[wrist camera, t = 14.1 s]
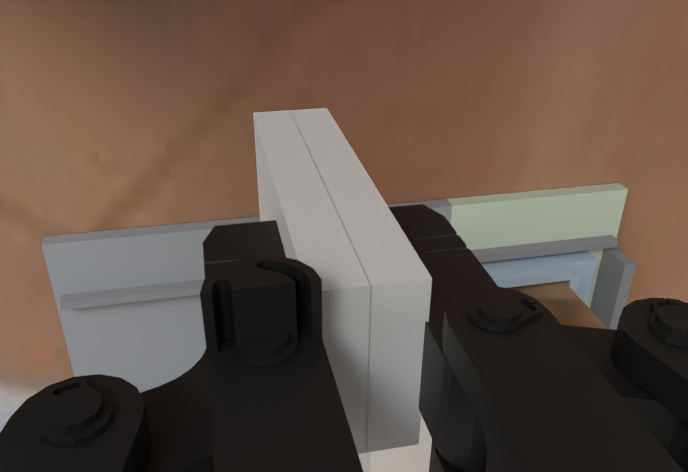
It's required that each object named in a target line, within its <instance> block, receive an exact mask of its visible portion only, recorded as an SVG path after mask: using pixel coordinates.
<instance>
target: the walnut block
mask: <svg viewBox="0 0 688 472" xmlns="http://www.w3.org/2000/svg"><path fill="white" fill-rule="evenodd" d="M507 289H512V290H517V291H520V292H522V293H524V294H526V295H529V296H531V297H533V298H535V299H536V300H538V301H539V302H540V303H541V304H543V305H544V306H545V307H546V308H547V309H548V310H549V311H550V312H551V313H552V314H553V316H554V317H555V318H556V319H557V320H558V322H559V323H560V324H562V325H569V326H577V327H589V328H602V329H608V328H607V327H606V325H605V324H604V323H603V322H602V321H601V320H600V319H599V318H598V317H597V316H596V315H595V314H594V313H593V312H592V311H591V309H590V308H589V307H588V306H587V305H586V304H585V303H584V302H583V301H582V300H581V299H580V298H579V297H578V296H577V294H576V293H575V292H574V291H573V290H572V289H571V288H570V287H569V286H568V285H567V284H566V283H565V282H564V281H559V282H551V283H543V284H534V285H526V286H518V287H510V288H507Z"/></svg>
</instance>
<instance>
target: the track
mask: <svg viewBox="0 0 688 472" xmlns="http://www.w3.org/2000/svg"><path fill="white" fill-rule="evenodd" d="M627 192H628V189H627V188H626V187H625V186H623V185H622V184H620V183H613V184H602V185H591V186H580V187H570V188H559V189H548V190H537V191H527V192H516V193H505V194H494V195H484V196H473V197H462V198H451V199H441V200H430V201H419V202H408V203H398V204H387V206H388V207H396V206H407V205H418V204H424V205H425V206H427V207H429V208H431V209H432V210H434V211H436V212H438V213H439V214H441V215H443V216H445V218H446V219H447V220H448V222H449V223H450V224H451V225H452V227H453V228H454V229H455V231H456V232H457V235H459V236H460V237H461V239H462V240H463V241H464V242H465V244H466V247H467V249H468V248H469V249H470V250H471V252H472V253H473V254H474V255H475V257H476V258H477V259H478V261H479V262H480V263H482V262H491V261H500V260H509V259H518V258H526V257H535V256H544V255H553V254H562V253H571V252H579V251H589V252H590V253H591V254H592V255H593V256H594V257H595V258H596V259H597V263H596V267H595V272H594V276H593V281H592V285H591V290H590V294H589V299H588V303H587V306H588V307H589V308H590V309H591V311H592V312H593V313H594V314H595V315H596V316H597V317H598V318H599V319H600V320H601V321H602V322H603V323H604V324H605V325H606V327H607V328H608V329H614V330H617V326H618V322H619V318H620V315H621V313H622V310H623V308H624V307H625V306H626V304H627V300H628V296H629V292H630V288H631V284H632V280H633V277H634V273H635V269H636V265H637V263H636V262H634V261H633V260H632V259H631V258H630V257H629V256H628V255H626V254H625V253H624V252H623V251H622V250H621V249H619V248H618V243H619V240H618V239H617V234H618V230H619V226H620V222H621V217H622V213H623V209H624V205H625V200H626V196H627ZM250 222H260V216H258V217H247V218H236V219H226V220H215V221H204V222H193V223H183V224H172V225H161V226H150V227H139V228H129V229H118V230H107V231H96V232H86V233H75V234H64V235H53V236H45V237H44V239H43V242H42V249H43V253H44V257H45V261H46V265H47V269H48V273H49V277H50V281H51V285H52V289H53V293H54V297H55V301H56V305H57V309H58V313H59V317H60V321H61V325H62V329H63V333H64V337H65V341H66V345H67V349H68V353H69V357H70V361H71V365H72V369H73V373H74V377H77V376H87V375H96V374H102V375H108V376H114V377H120V378H122V379H124V380H126V381H127V382H129V383H131V384H132V385H134V386H136V387H137V388H138V390H139V392H140V393H142V392H145V391H147V390H150V389H153V388H155V387H158V386H161V385H163V384H165V383H167V382H170V381H172V380H174V379H176V378H178V377H180V376H181V375H182V374H184V373H185V372H187V371H188V370H190V369H191V368H192V367H193V366H194V365H195V364H196V363H197V362H198V361H199V360H200V359H201V357H202V356H203V354H204V352H205V350H206V341H205V332H204V324H203V316H202V308H201V299H200V291H201V288H202V285H203V281H204V280H205V272H204V255H203V241H204V240H205V239H206V237H207V236H208V235H209V233H210V232H211V230H212V229H213V228H214V226H218V225H229V224H239V223H250ZM431 445H432V438H431V435H430V433H429V431H428V429H427V426H426V424H425V422H424V420H423V417H422V415H421V420H420V432H419V444H416V445H410V446H404V447H398V448H392V449H386V450H380V451H374V452H368V453H362V454H358V456H359V459H360V462H361V466H362V469H363V472H429V465H430V455H431Z"/></svg>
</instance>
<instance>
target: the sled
mask: <svg viewBox="0 0 688 472" xmlns="http://www.w3.org/2000/svg"><path fill="white" fill-rule="evenodd" d="M596 263H597V259H596V258H595V257H594V256H593V255H592V254H591V253H590V252H589V251H579V252H571V253H562V254H553V255H544V256H535V257H526V258H518V259H509V260H500V261H491V262H482V263H481V265H482V266H483V267H484V269H485V270H486V271H487V272H488V274H489V275H490V276H491V278H492V279H493V280H494V282H495V283H496V284H497V286H498V287H503V288H510V287H518V286H526V285H534V284H543V283H551V282H559V281H564V282H565V283H566V284H567V285H568V286H569V287H570V288H571V289H572V290H573V291H574V292H575V293H576V294H577V296H578V297H579V298H580V299H581V300H582V301H583V302H584V303H585V304H586V305H587V303H588V299H589V294H590V290H591V285H592V281H593V276H594V272H595V267H596Z"/></svg>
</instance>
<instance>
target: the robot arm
mask: <svg viewBox="0 0 688 472" xmlns="http://www.w3.org/2000/svg"><path fill="white" fill-rule="evenodd" d="M253 118H254V133H255V149H256V164H257V180H258V196H259V211H260V222H250V223H239V224H229V225H218V226H214V228H213V229H212V230H211V232H210V233H209V235H208V236H207V237H206V239H205V240H204V241H203V255H204V272H205V280H204V281H203V285H202V288H201V291H200V299H201V308H202V316H203V324H204V332H205V341H206V350H205V352H204V354H203V356H202V357H201V359H200V360H199V361H198V362H197V363H196V364H195V365H194V366H193V367H192V368H191V369H190V370H188V371H187V372H185V373H184V374H182V375H181V376H180V377H178V378H176V379H174V380H172V381H170V382H167V383H165V384H163V385H161V386H158V387H155V388H153V389H150V390H147V391H145V392H142V393H140V392H139V390H138V388H137V387H136V386H134V385H132V384H131V383H129V382H127V381H126V380H124V379H122V378H120V377H114V376H108V375H102V374H96V375H87V376H77V377H72V378H69V379H67V380H64V381H61V382H58V383H55V384H52V385H49V386H48V387H46V388H44V389H43V390H41V391H40V392H38V393H36V394H35V395H33V396H31V397H30V398H28V399H27V400H26V401H25V402H24V403H23V404H22V405H21V406H20V407H19V408H18V410H17V411H16V412H15V413H14V414H13V415H12V416H11V417H10V419H9V420H8V422H7V423H6V425H5V427H4V428H3V430H2V431H1V433H0V472H363V469H362V466H361V462H360V459H359V456H358V454H362V453H368V452H374V451H380V450H386V449H392V448H398V447H404V446H410V445H416V444H419V432H420V420H421V415H422V417H423V420H424V422H425V424H426V426H427V429H428V431H429V433H430V435H431V438H432V445H431V455H430V465H429V472H688V303H685V302H682V301H680V300H676V299H668V298H667V299H664V298H648V299H642V300H636V301H633V302H632V303H630V304H629V305H627V306H625V307H624V308H623V310H622V313H621V315H620V318H619V322H618V326H617V330H614V329H602V328H589V327H577V326H569V325H562V324H560V323H559V322H558V320H557V319H556V318H555V317H554V316H553V314H552V313H551V312H550V311H549V310H548V309H547V308H546V307H545V306H544V305H543V304H541V303H540V302H539V301H538V300H536V299H535V298H533V297H531V296H529V295H526V294H524V293H522V292H520V291H517V290H512V289H507V288H503V287H498V286H497V284H496V283H495V282H494V280H493V279H492V278H491V276H490V275H489V274H488V272H487V271H486V270H485V269H484V267H483V266H482V265H481V263H480V262H479V261H478V259H477V258H476V257H475V255H474V254H473V253H472V252H471V250H470V249H469V248H468V249H467V247H466V244H465V242H464V241H463V240H462V239H461V237H460V236H459V235H457V232H456V231H455V229H454V228H453V227H452V225H451V224H450V223H449V222H448V220H447V219H446V218H445V216H443V215H441V214H439V213H438V212H436V211H434V210H432V209H431V208H429V207H427V206H425V205H424V204H418V205H407V206H396V207H388V206H387V204H386V203H385V201H384V199H383V198H382V196H381V195H380V193H379V191H378V190H377V188H376V187H375V185H374V183H373V182H372V180H371V178H370V177H369V175H368V174H367V172H366V170H365V169H364V167H363V166H362V164H361V162H360V161H359V159H358V157H357V156H356V154H355V153H354V151H353V149H352V148H351V146H350V145H349V143H348V141H347V140H346V138H345V136H344V135H343V133H342V132H341V130H340V128H339V127H338V125H337V124H336V122H335V120H334V119H333V117H332V115H331V114H330V112H329V111H328V109H327V108H318V109H302V110H286V111H271V112H255V113H253Z"/></svg>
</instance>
